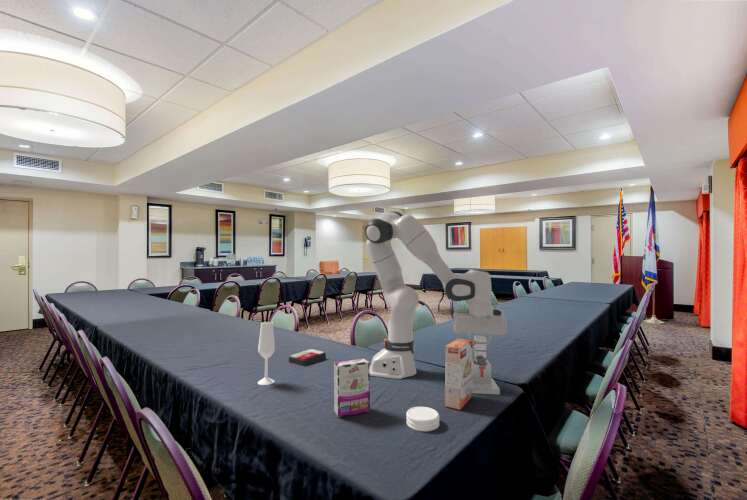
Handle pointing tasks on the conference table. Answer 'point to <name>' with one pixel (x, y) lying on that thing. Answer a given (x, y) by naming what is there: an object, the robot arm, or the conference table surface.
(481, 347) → the column
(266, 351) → the champagne flute
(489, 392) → the housing
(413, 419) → the coaster
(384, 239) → the robot arm
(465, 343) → the cracker box
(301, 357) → the flat red white box
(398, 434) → the conference table surface
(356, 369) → the candy bar box
